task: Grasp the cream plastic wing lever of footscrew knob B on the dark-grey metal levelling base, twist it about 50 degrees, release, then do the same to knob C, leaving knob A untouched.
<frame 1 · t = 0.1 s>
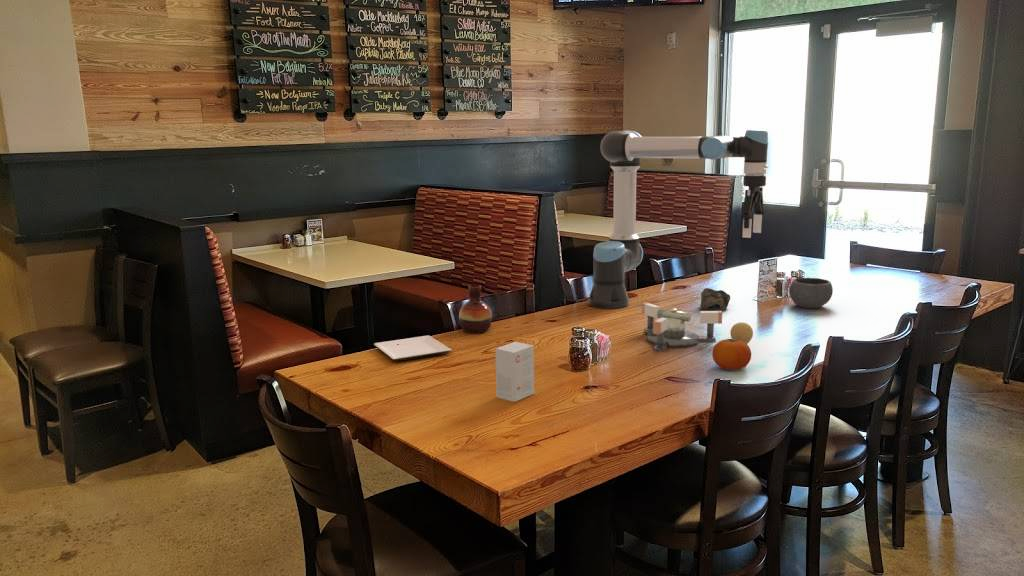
hand: (751, 235, 276), 28 cm above the table, fingers open, 13 cm apart
fossil: (714, 309, 288), on the table
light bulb: (740, 356, 230), on the table
plate: (412, 353, 239), on the table
knob c: (660, 332, 236), point 5 cm above the table, hinge at 0.0°
fruit: (731, 368, 218), on the table
knob b: (650, 316, 255), point 5 cm above the table, hinge at 0.0°
vase: (475, 331, 262), on the table
small box: (515, 396, 199), on the table
knob a: (710, 324, 245), point 5 cm above the table, hinge at 0.0°
bowl: (809, 307, 288), on the table
tribrach: (673, 340, 246), on the table
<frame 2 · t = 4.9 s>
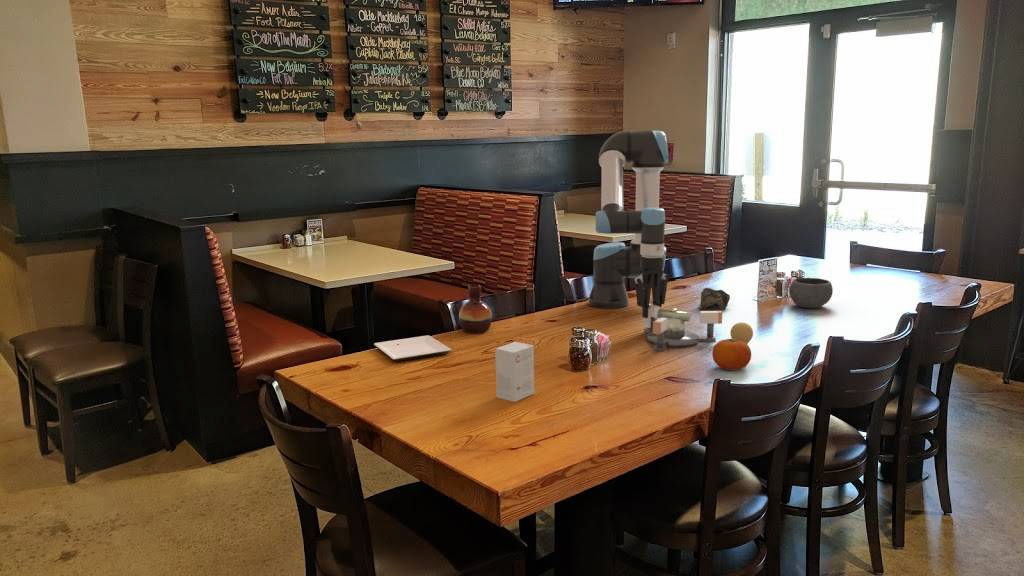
hand: (650, 326, 256), 2 cm above the table, fingers closed on knob b, 2 cm apart
knob b: (650, 316, 255), point 5 cm above the table, hinge at 0.0°, touching gripper
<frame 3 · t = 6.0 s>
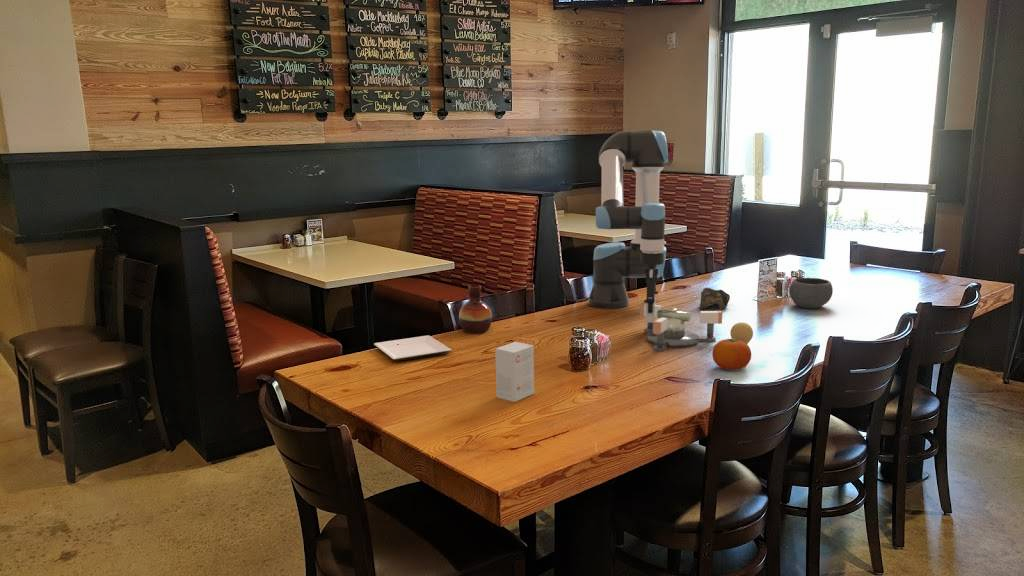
hand: (650, 317, 255), 5 cm above the table, fingers open, 10 cm apart
knob b: (650, 316, 255), point 5 cm above the table, hinge at 31.5°
everything else where it was.
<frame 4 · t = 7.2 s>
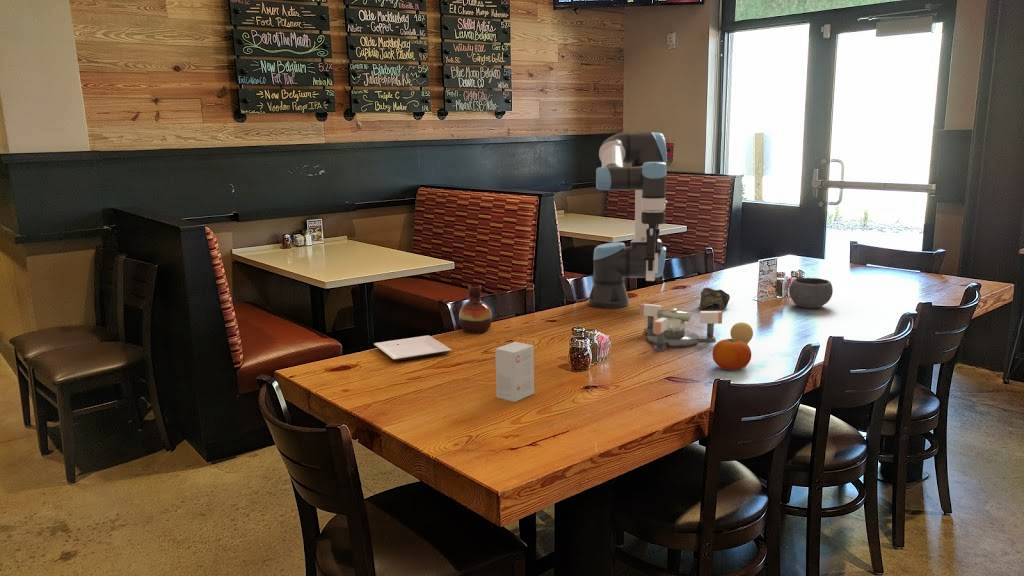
hand: (651, 276, 252), 19 cm above the table, fingers open, 13 cm apart
knob b: (650, 316, 255), point 5 cm above the table, hinge at 35.6°
everything else where it was.
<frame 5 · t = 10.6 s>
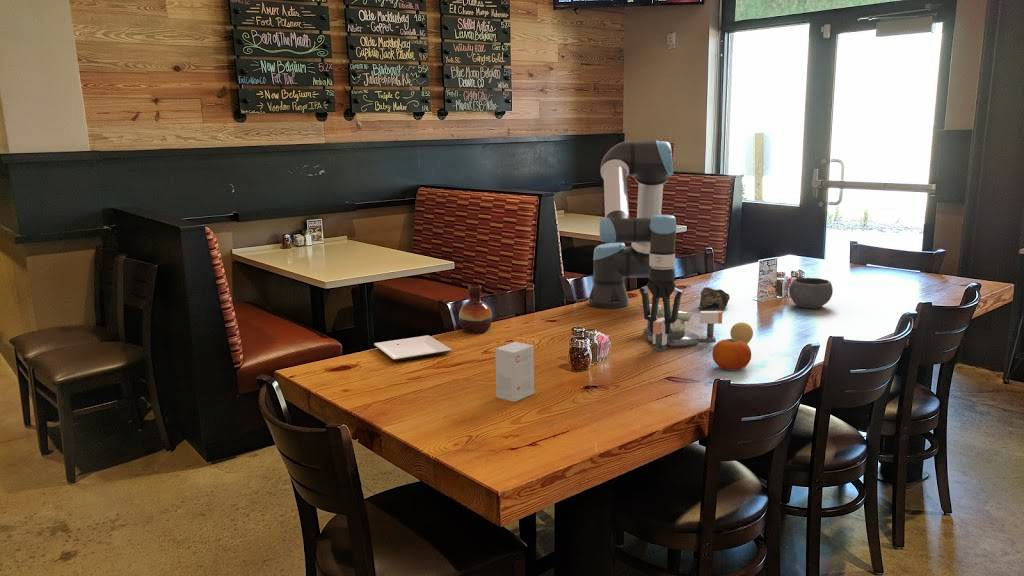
hand: (659, 343, 236), 2 cm above the table, fingers closed on knob c, 2 cm apart
knob c: (660, 332, 236), point 5 cm above the table, hinge at 0.2°, touching gripper
knob b: (650, 316, 255), point 5 cm above the table, hinge at 36.5°
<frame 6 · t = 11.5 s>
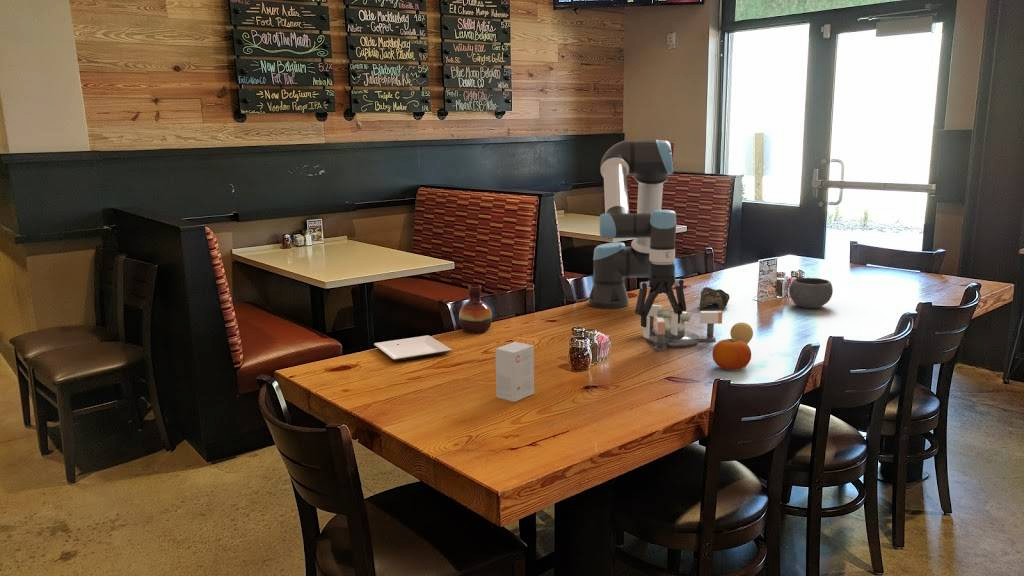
hand: (660, 335, 236), 4 cm above the table, fingers open, 9 cm apart
knob c: (660, 332, 236), point 5 cm above the table, hinge at 26.7°
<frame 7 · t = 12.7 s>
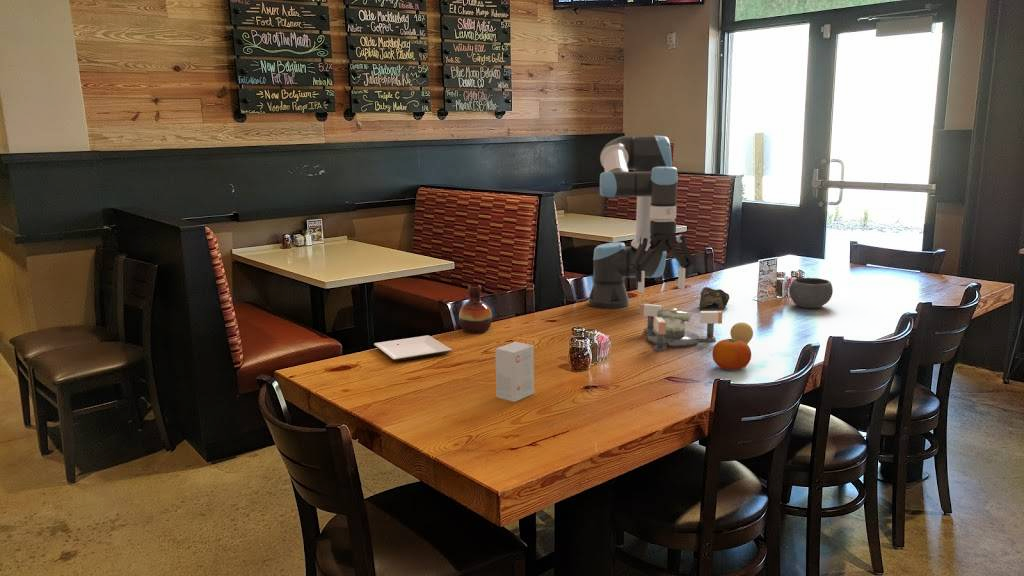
hand: (661, 290, 233), 18 cm above the table, fingers open, 13 cm apart
knob c: (660, 332, 236), point 5 cm above the table, hinge at 31.8°
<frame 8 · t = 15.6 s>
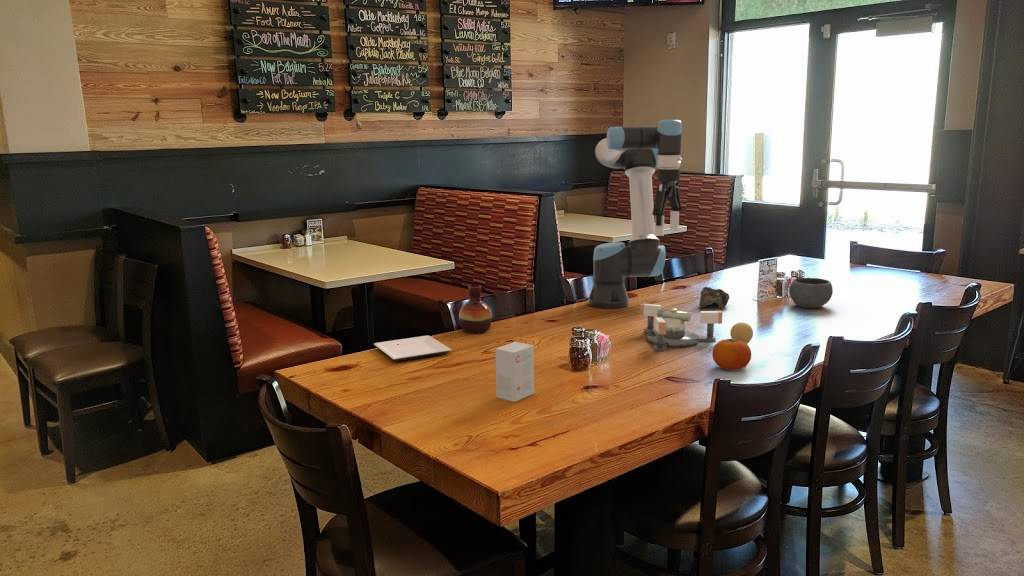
hand: (666, 233, 258), 32 cm above the table, fingers open, 13 cm apart
knob c: (660, 332, 236), point 5 cm above the table, hinge at 32.9°
at the end: knob b at +36° (first picture: +0°); knob c at +33° (first picture: +0°); knob a at +0° (first picture: +0°) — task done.
